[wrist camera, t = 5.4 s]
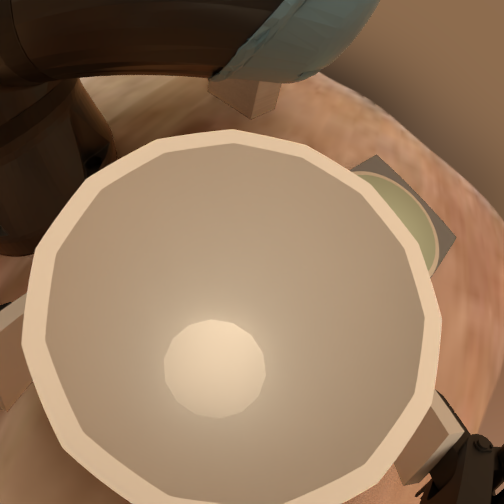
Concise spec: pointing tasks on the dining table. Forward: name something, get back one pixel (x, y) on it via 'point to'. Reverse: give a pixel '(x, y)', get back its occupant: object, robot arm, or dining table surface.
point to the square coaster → (409, 210)
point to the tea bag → (246, 95)
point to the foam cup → (231, 325)
